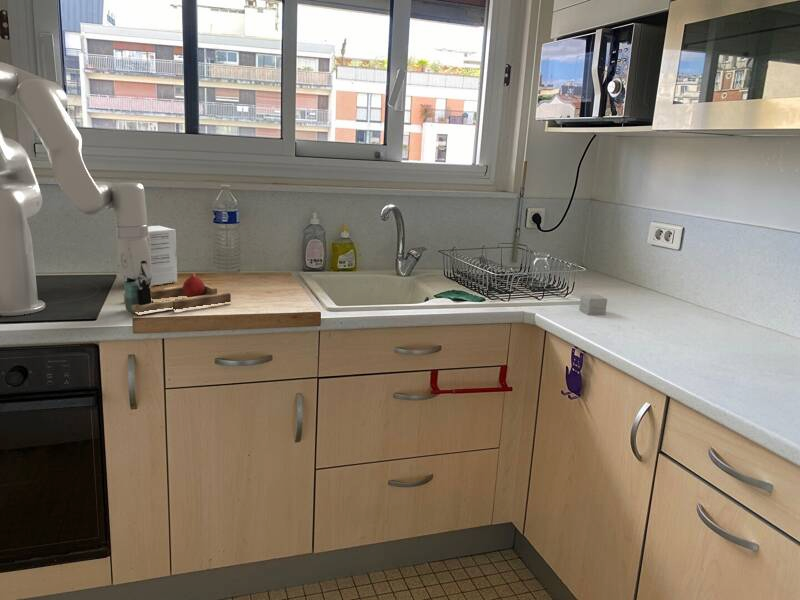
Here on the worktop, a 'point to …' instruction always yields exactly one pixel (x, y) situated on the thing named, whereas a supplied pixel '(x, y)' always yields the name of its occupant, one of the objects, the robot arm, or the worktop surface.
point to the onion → (193, 286)
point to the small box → (593, 304)
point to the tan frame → (133, 305)
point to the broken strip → (163, 288)
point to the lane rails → (192, 301)
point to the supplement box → (162, 254)
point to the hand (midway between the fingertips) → (139, 300)
